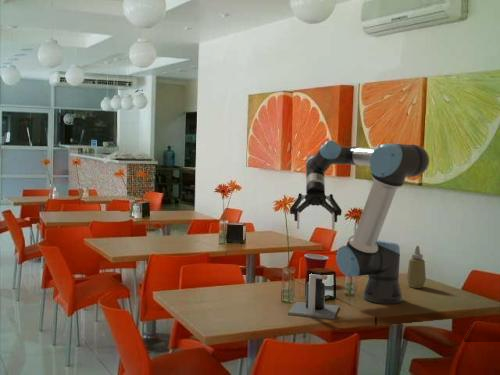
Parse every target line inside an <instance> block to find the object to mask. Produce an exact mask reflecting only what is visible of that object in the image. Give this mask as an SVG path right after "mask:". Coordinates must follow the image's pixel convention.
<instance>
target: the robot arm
mask: <svg viewBox="0 0 500 375" xmlns="http://www.w3.org/2000/svg"><path fill="white" fill-rule="evenodd" d="M332 165H351V166H361V167H362V166H363V167H369V169H370V172H371V178H372V180H373V182H372V184H371V187H370V190H369V193H368V196H367V199H366V201H365V205H364V207H363V210H362V212H361V215H360V218H359V221H358V223H357V227H356V229H355V232H354V234H353V235H351V236H349V237H348V240H347V242H346V245H342V246H340V247H339V248H338V249H337V252H336V264H337V267H338V269H339V271H340V272H341V273H342V274H343V275H344V276H347V277H354V278H356V277H360V276H361V277H363V276H368V278H367V282H366V285H365V286H364V290H363V293H362V294H363V296H362V298H363V299H364V300H365V301H367V302H371V303H375V304H376V303H377V304H386V305H388V304H391V305H392V304H400V303H402V302H403V293H402V288H401V285H400V281H399V278H400V277H399V276H400V263H401V262H400V261H401V260H400V259H401V258H400V257H401V253H400V250H401V247H400V246H399V244H398V243H395V242H390V241H385V240H378V239H379V237H380V234H381V231H382V228H383V226H384V223H385V221H386V218H387V215H388V213H389V210H390V208H391V205H392V201H393V200H394V197H395V194H396V192H397V189H398V188H400V187H403V185H404V184H405V180H406V178H413V177H418V176H420V175H422V174H424V173H425V172H426V170H427V169H428V167H429V165H430V156H429V154H428V152H427V150H426V149H425V148H423V147H422V146H420V145H417V144H406V143H405V144H404V143H395V142H394V143H393V142H391V143H389V142H388V143H382V144H380V145H378V146H377V147H363V146H361V147H360V146H343V145H342V146H341V145H340V143H338V142H336V141H334V140H331V139H330V140H327V141H325V142H324V144H322V145H321V146H320V149H319V150H318V151H317V153H316V154H315V155H314V154H313V155H311V156H309V157H308V158H307V160H306V165H305V170H306V172H305V173H306V174H305V175H306V180H305V181H306V182H305V183H306V184H305V186H306V188H305V194H302V193H301V192H300V193H298V196H297V198H296V200H295V201H294V202H293V203H292V206H291V207H290V208H289V214H290V215H294V216H293V217H294V222H297V225H296V229H297V230H299V229H300V213H302V212H303V210H305V209H306V208H308V207H310V206H321V207H322V208H324V209H325V210H326V211H328V212H329V213H330V214H331V227H332V228H331V229H332V230H333V231H334V230H335V227H336V223H337V222H338V216H340V217H341V216H342V211H343V210H342V209H341V207H340V205H339V204H338V203H337V201H336V200H335V199H334V194H332V193H331V194H329V195H326V193H325V192H326V191H325V190H326V188H325V186H326V185H325V182H326V181H325V174H326V172H327V171H328V169H329V168H330V167H331V166H332ZM304 199H305V200H304ZM302 201H303V202H302ZM301 202H302V203H301Z"/></svg>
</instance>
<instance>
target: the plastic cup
mask: <svg viewBox="0 0 500 375" xmlns="http://www.w3.org/2000/svg"><path fill="white" fill-rule="evenodd" d="M304 259H305V266H306V270H307V269H314V268H323V269H324V270H326V269H325V268H326V265H327V262H328V260H329V256H327V255H326V256H325V255H321V254H318V253H317V254H314V253H306V254H304Z"/></svg>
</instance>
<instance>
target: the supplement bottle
mask: <svg viewBox="0 0 500 375" xmlns="http://www.w3.org/2000/svg"><path fill="white" fill-rule="evenodd" d="M316 275H320V274H316ZM323 281H324V279H316V291H315V310H322V309H324V305H325V300H326V299H325V298H326V285H325V283H324V282H323ZM308 293H309V281H308V282H307V283H306V285H305V303H306V308H307V309H308Z"/></svg>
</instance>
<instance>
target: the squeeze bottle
mask: <svg viewBox="0 0 500 375" xmlns="http://www.w3.org/2000/svg"><path fill="white" fill-rule="evenodd" d="M423 258H424V257H423V254H422V253H421V251H420V246H419V245H416V246H415V249H414V252H413V253H412V254H411V258H409V260H408V267H407V272H406V280H407V284H408V286H409V287H410V288H414V289H421V288H424V286H425V283H426V280H427V278H426V264H425V262H426V261H425V260H424V259H423Z"/></svg>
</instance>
